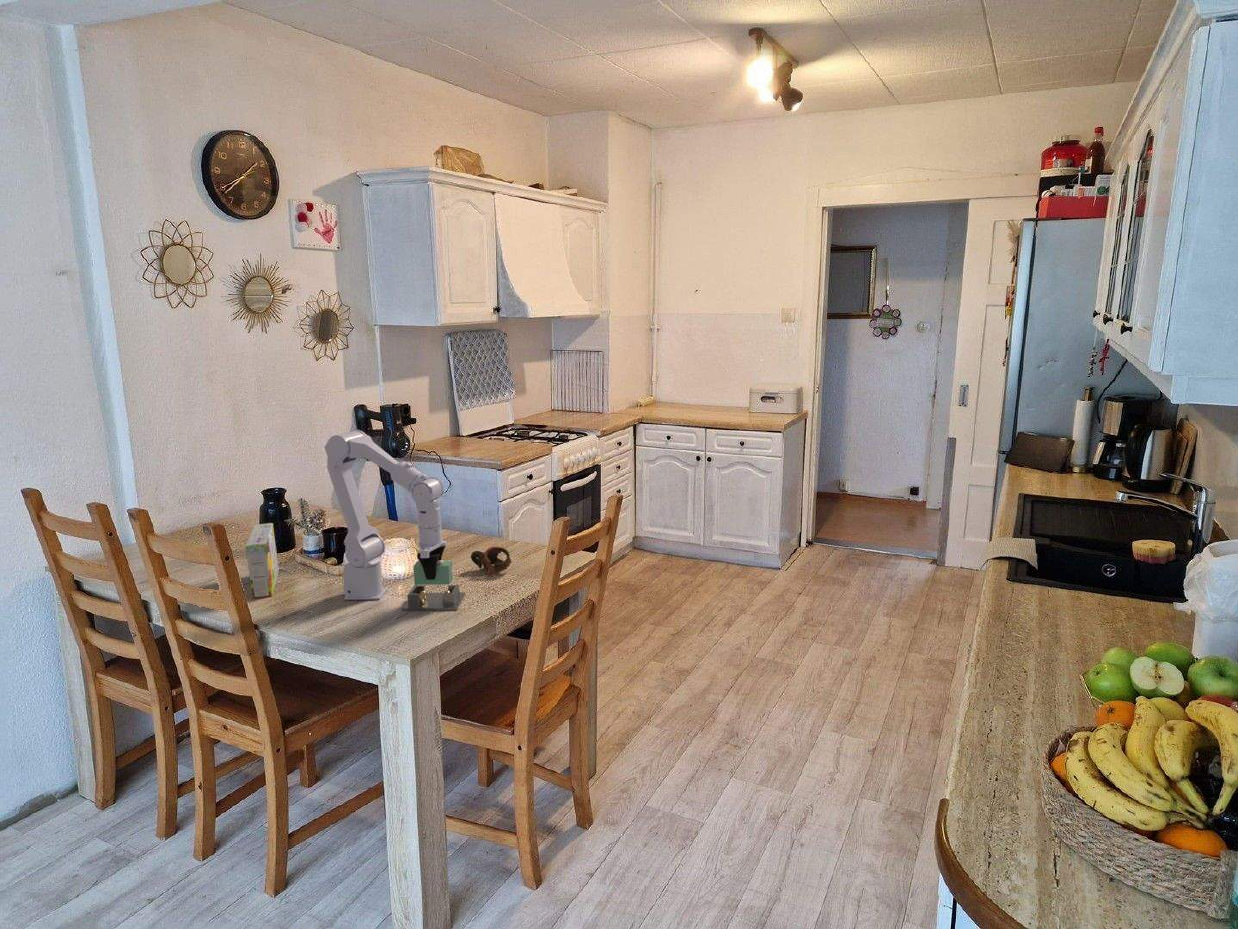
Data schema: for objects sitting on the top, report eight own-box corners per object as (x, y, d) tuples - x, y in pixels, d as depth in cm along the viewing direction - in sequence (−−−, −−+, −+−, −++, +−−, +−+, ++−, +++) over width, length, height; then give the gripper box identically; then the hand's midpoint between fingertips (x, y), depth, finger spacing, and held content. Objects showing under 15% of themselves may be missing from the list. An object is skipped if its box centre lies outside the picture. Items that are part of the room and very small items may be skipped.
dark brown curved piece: (512, 566, 239) (515, 547, 234) (504, 589, 232) (508, 570, 226) (472, 556, 238) (475, 537, 233) (463, 579, 231) (466, 560, 226)
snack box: (259, 574, 233) (253, 524, 230) (279, 571, 235) (274, 522, 232) (250, 599, 214) (244, 545, 210) (273, 596, 215) (267, 542, 212)
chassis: (402, 610, 204) (401, 597, 203) (413, 595, 215) (412, 582, 214) (457, 610, 204) (456, 597, 203) (465, 594, 215) (464, 582, 214)
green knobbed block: (414, 584, 206) (413, 563, 205) (418, 579, 210) (416, 558, 209) (449, 584, 206) (448, 562, 205) (452, 579, 210) (451, 557, 209)
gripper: (439, 533, 198) (442, 585, 201) (451, 517, 212) (454, 566, 215) (410, 533, 198) (414, 586, 201) (424, 518, 212) (427, 567, 215)
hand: (433, 576), depth 208 cm, fingers closed on green knobbed block, 4 cm apart
